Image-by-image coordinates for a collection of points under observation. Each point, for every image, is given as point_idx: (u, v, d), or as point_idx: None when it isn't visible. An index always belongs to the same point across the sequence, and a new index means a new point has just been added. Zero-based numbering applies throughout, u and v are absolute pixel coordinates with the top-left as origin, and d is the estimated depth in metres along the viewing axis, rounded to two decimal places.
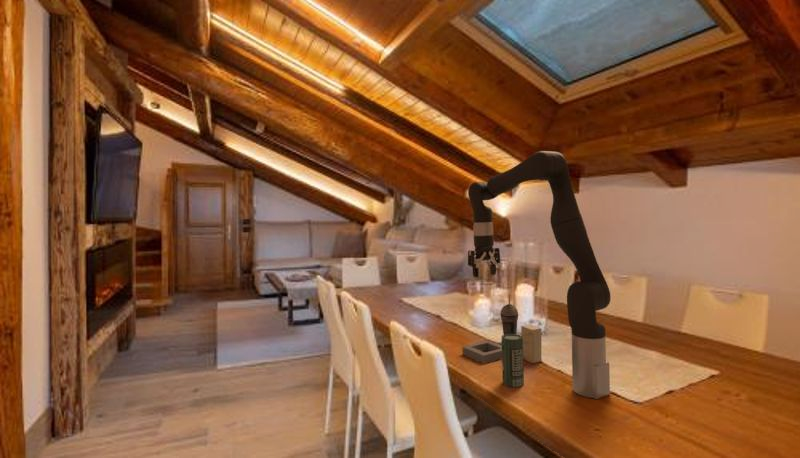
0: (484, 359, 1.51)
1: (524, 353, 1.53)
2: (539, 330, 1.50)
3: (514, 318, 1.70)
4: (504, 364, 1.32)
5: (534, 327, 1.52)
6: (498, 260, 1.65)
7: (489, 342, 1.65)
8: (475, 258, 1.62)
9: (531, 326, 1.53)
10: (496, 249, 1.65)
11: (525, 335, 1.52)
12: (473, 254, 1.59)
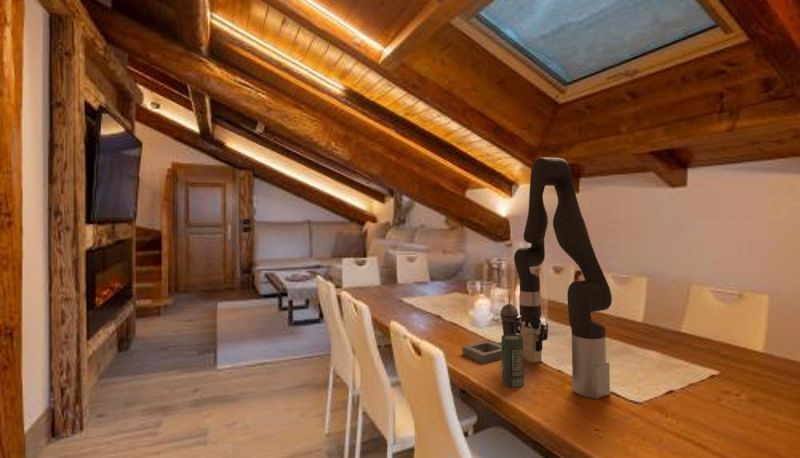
0: (484, 359, 1.51)
1: (524, 353, 1.53)
2: (539, 330, 1.50)
3: None
4: (504, 364, 1.32)
5: None
6: None
7: (489, 342, 1.65)
8: (534, 331, 1.49)
9: None
10: None
11: (525, 335, 1.52)
12: None
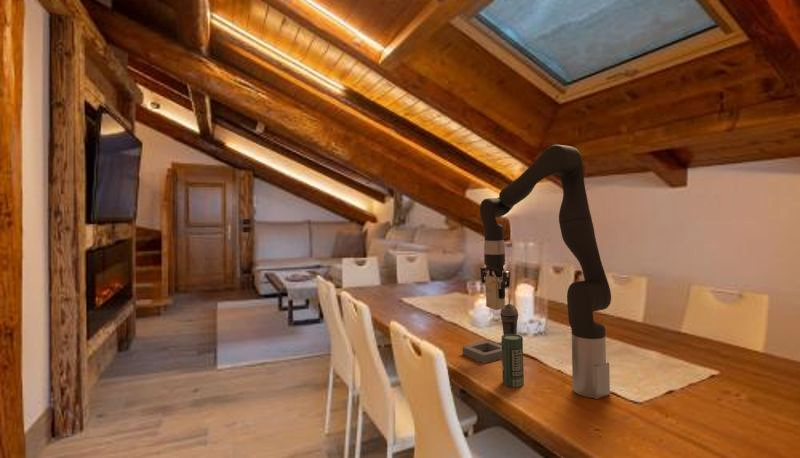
0: (484, 359, 1.51)
1: (488, 301, 1.58)
2: (502, 278, 1.54)
3: (514, 318, 1.70)
4: (504, 364, 1.32)
5: None
6: None
7: (489, 342, 1.65)
8: (497, 279, 1.54)
9: None
10: (486, 268, 1.62)
11: (489, 284, 1.57)
12: None
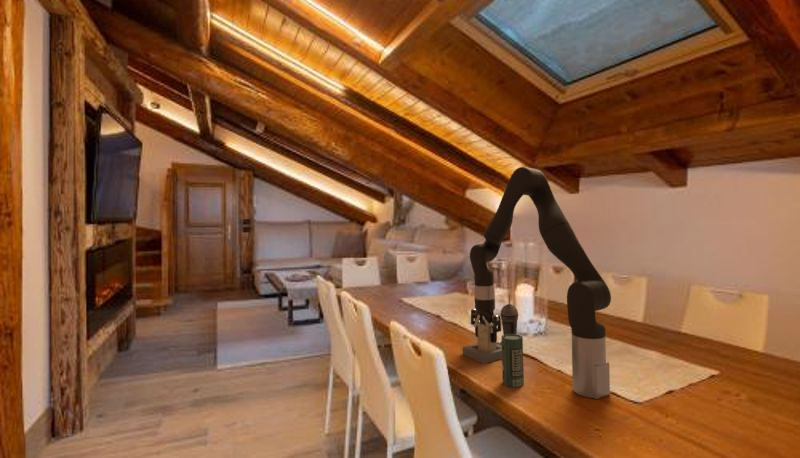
0: (484, 359, 1.51)
1: (480, 349, 1.59)
2: None
3: (514, 318, 1.70)
4: (504, 364, 1.32)
5: None
6: None
7: None
8: (488, 323, 1.55)
9: None
10: None
11: (481, 332, 1.58)
12: None
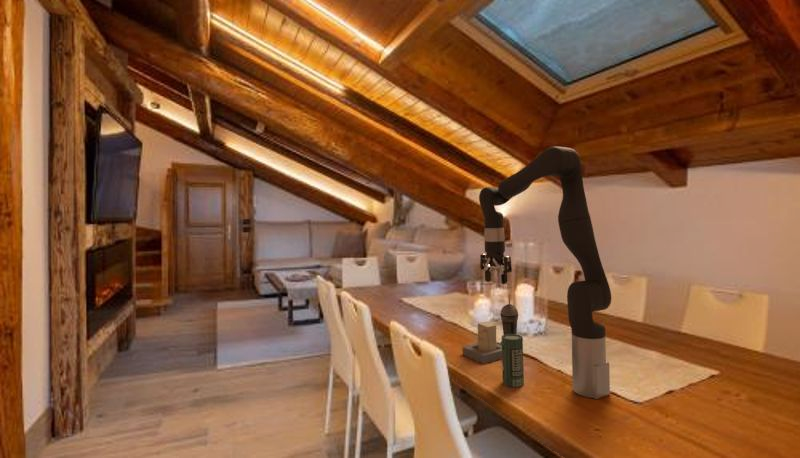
0: (484, 359, 1.51)
1: (480, 349, 1.59)
2: (494, 327, 1.56)
3: (514, 318, 1.70)
4: (504, 364, 1.32)
5: (489, 324, 1.58)
6: None
7: None
8: (499, 265, 1.57)
9: (487, 323, 1.59)
10: None
11: (481, 332, 1.58)
12: None
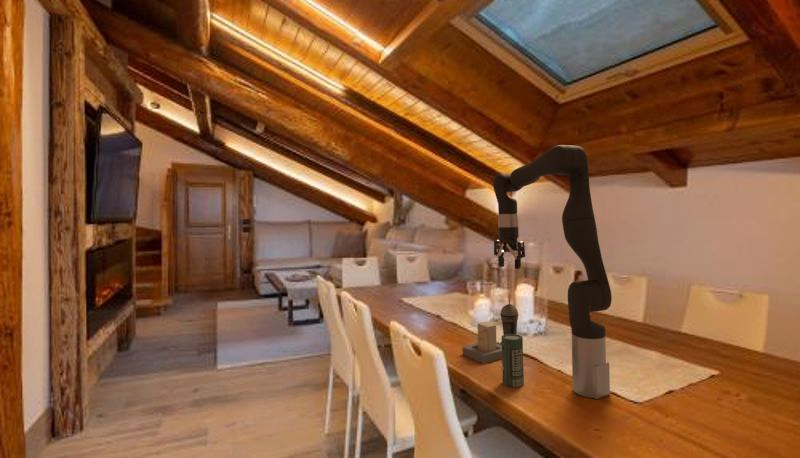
0: (484, 359, 1.51)
1: (480, 349, 1.59)
2: (494, 327, 1.56)
3: (514, 318, 1.70)
4: (504, 364, 1.32)
5: (489, 324, 1.58)
6: None
7: None
8: (512, 250, 1.59)
9: (487, 323, 1.59)
10: (499, 241, 1.68)
11: (481, 332, 1.58)
12: None
